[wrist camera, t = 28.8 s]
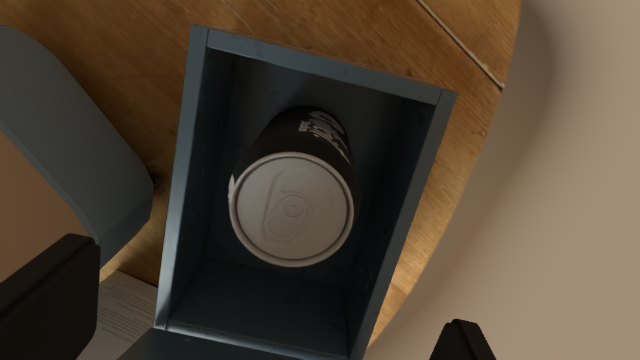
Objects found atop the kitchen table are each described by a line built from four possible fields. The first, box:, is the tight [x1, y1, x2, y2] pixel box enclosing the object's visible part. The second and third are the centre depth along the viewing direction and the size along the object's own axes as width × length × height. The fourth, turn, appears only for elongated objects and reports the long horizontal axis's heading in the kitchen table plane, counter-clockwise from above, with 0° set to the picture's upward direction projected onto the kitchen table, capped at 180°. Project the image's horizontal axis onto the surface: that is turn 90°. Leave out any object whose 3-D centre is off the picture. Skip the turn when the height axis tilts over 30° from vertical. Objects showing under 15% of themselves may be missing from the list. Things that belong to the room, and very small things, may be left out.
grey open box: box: [153, 24, 458, 360], centre depth 26 cm, size 19×14×9 cm
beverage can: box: [228, 106, 360, 267], centre depth 23 cm, size 7×7×12 cm
